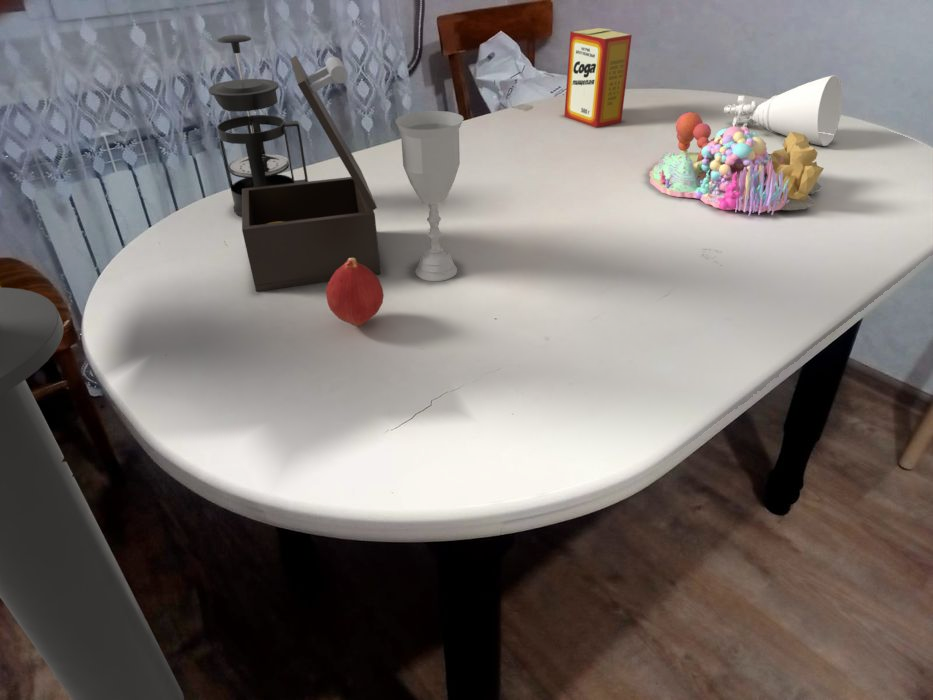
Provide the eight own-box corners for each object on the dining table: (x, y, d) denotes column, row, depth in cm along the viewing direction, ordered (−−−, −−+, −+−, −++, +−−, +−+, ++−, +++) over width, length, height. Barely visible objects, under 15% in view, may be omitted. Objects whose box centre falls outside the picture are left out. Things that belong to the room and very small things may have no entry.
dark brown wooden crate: (256, 291, 76) (241, 229, 72) (254, 245, 86) (241, 188, 82) (380, 274, 79) (374, 213, 75) (365, 231, 89) (359, 175, 85)
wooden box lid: (297, 84, 65) (341, 59, 65) (289, 58, 75) (328, 37, 75) (371, 211, 74) (410, 190, 74) (355, 173, 84) (390, 155, 84)
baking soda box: (621, 121, 129) (631, 32, 120) (596, 127, 126) (605, 36, 117) (588, 111, 136) (596, 25, 127) (564, 116, 133) (570, 29, 124)
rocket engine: (727, 70, 122) (832, 61, 110) (747, 103, 130) (847, 97, 118) (708, 128, 121) (812, 125, 109) (730, 157, 130) (828, 157, 118)
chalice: (416, 289, 76) (405, 133, 66) (399, 264, 81) (387, 115, 71) (474, 277, 78) (473, 124, 68) (454, 253, 83) (450, 107, 73)
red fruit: (321, 321, 71) (310, 254, 66) (368, 304, 73) (361, 239, 69) (347, 346, 67) (337, 276, 62) (395, 327, 69) (389, 259, 65)
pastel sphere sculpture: (809, 166, 107) (826, 108, 102) (833, 225, 89) (855, 157, 84) (652, 154, 113) (660, 99, 108) (644, 207, 95) (654, 143, 89)
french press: (227, 223, 92) (185, 45, 79) (230, 198, 99) (192, 31, 86) (313, 214, 94) (285, 39, 81) (309, 190, 102) (284, 27, 88)
